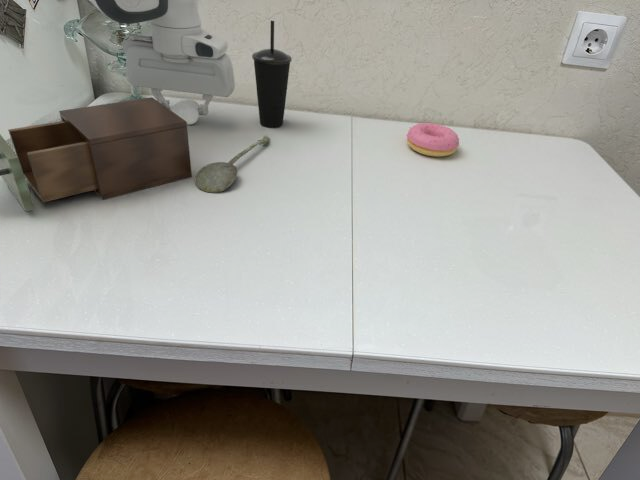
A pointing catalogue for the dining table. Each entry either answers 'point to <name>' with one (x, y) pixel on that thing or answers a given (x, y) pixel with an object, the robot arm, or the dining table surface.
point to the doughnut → (432, 139)
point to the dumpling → (186, 110)
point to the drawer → (46, 163)
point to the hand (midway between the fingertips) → (184, 112)
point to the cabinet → (132, 144)
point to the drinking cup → (271, 83)
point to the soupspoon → (222, 171)
